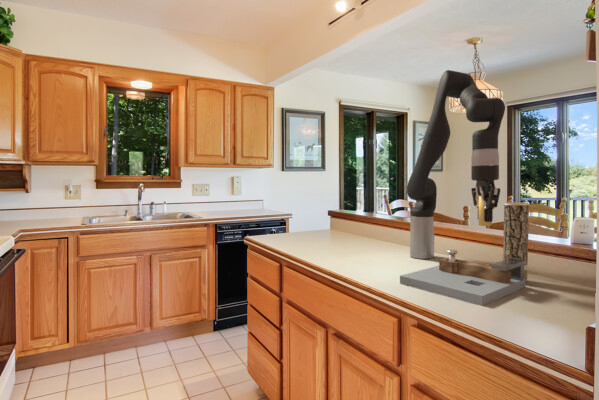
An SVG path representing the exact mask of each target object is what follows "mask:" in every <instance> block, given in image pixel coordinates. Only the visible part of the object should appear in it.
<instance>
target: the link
mask: <svg viewBox="0 0 599 400" xmlns="http://www.w3.org/2000/svg"><path fill="white" fill-rule="evenodd" d="M438 261H439V263H438V266H439V270H441V271H443V272H448V273H455V274H462V275H467V276H472V277H477V278H481V279H486V280H491V281H496V282H500V283H508V282H510V279H511V270H507V271H502V270H497V269H492V268H491V265H487V264H483V263H482V264H481V263H477V262H469V261H466V260H463V259H459V258H455V262H452V261H449V257H444V258H441V259H439V260H438Z"/></svg>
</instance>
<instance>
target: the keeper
mask: <svg viewBox="0 0 599 400" xmlns="http://www.w3.org/2000/svg"><path fill="white" fill-rule="evenodd" d="M490 266H491V268H492V269H497V270H502V271H507V270H511V279H514V280H519V281H521V280H524V260H517V259H511V258H510V259H507V260H504V261H503V260H500V261H497V262H495V263H491V264H490Z"/></svg>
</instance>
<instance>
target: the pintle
mask: <svg viewBox="0 0 599 400" xmlns="http://www.w3.org/2000/svg"><path fill="white" fill-rule="evenodd" d="M446 253H447V254H448V258H449V261H452V262H455V259H456V255H457V254H458V250H457V249H447V250H446Z"/></svg>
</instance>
